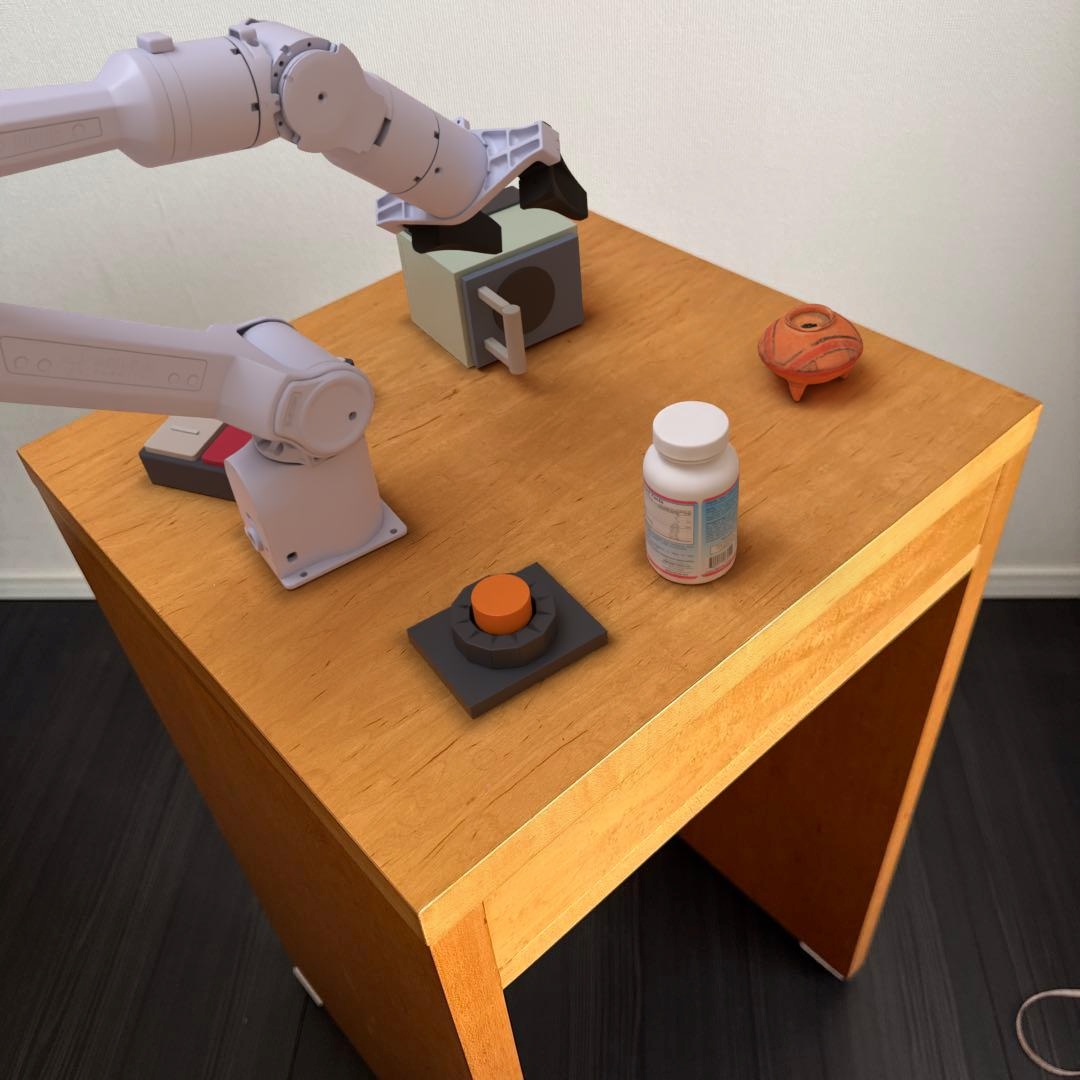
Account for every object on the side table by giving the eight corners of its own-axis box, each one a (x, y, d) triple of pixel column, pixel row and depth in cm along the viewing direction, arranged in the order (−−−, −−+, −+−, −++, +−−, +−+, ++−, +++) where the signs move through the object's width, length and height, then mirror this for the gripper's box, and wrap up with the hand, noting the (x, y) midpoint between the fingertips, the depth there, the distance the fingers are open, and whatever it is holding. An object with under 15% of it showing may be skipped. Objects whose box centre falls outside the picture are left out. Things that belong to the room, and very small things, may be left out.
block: (472, 720, 67) (466, 687, 65) (409, 641, 72) (401, 609, 70) (608, 643, 70) (606, 610, 68) (538, 573, 76) (534, 541, 74)
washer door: (511, 396, 91) (500, 307, 85) (473, 364, 94) (460, 277, 89) (620, 347, 94) (616, 259, 89) (579, 318, 98) (573, 232, 93)
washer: (468, 368, 95) (452, 269, 88) (411, 321, 101) (393, 225, 95) (584, 318, 99) (577, 220, 93) (522, 275, 106) (512, 181, 99)
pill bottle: (721, 519, 78) (725, 386, 71) (747, 579, 74) (755, 443, 66) (636, 534, 78) (631, 401, 70) (657, 595, 73) (654, 460, 66)
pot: (856, 415, 85) (843, 339, 81) (757, 417, 89) (739, 345, 85) (877, 355, 90) (866, 281, 86) (782, 360, 94) (767, 289, 90)
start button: (494, 644, 68) (490, 624, 67) (463, 610, 70) (460, 590, 69) (543, 617, 69) (541, 597, 68) (512, 585, 71) (509, 565, 70)
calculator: (131, 446, 84) (238, 332, 94) (151, 488, 87) (253, 374, 97) (254, 472, 81) (353, 350, 90) (270, 515, 84) (364, 393, 93)
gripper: (492, 42, 66) (620, 135, 77) (325, 133, 75) (461, 206, 85) (497, 151, 65) (627, 231, 75) (327, 231, 73) (465, 293, 84)
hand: (539, 224), depth 80 cm, fingers open, 7 cm apart
